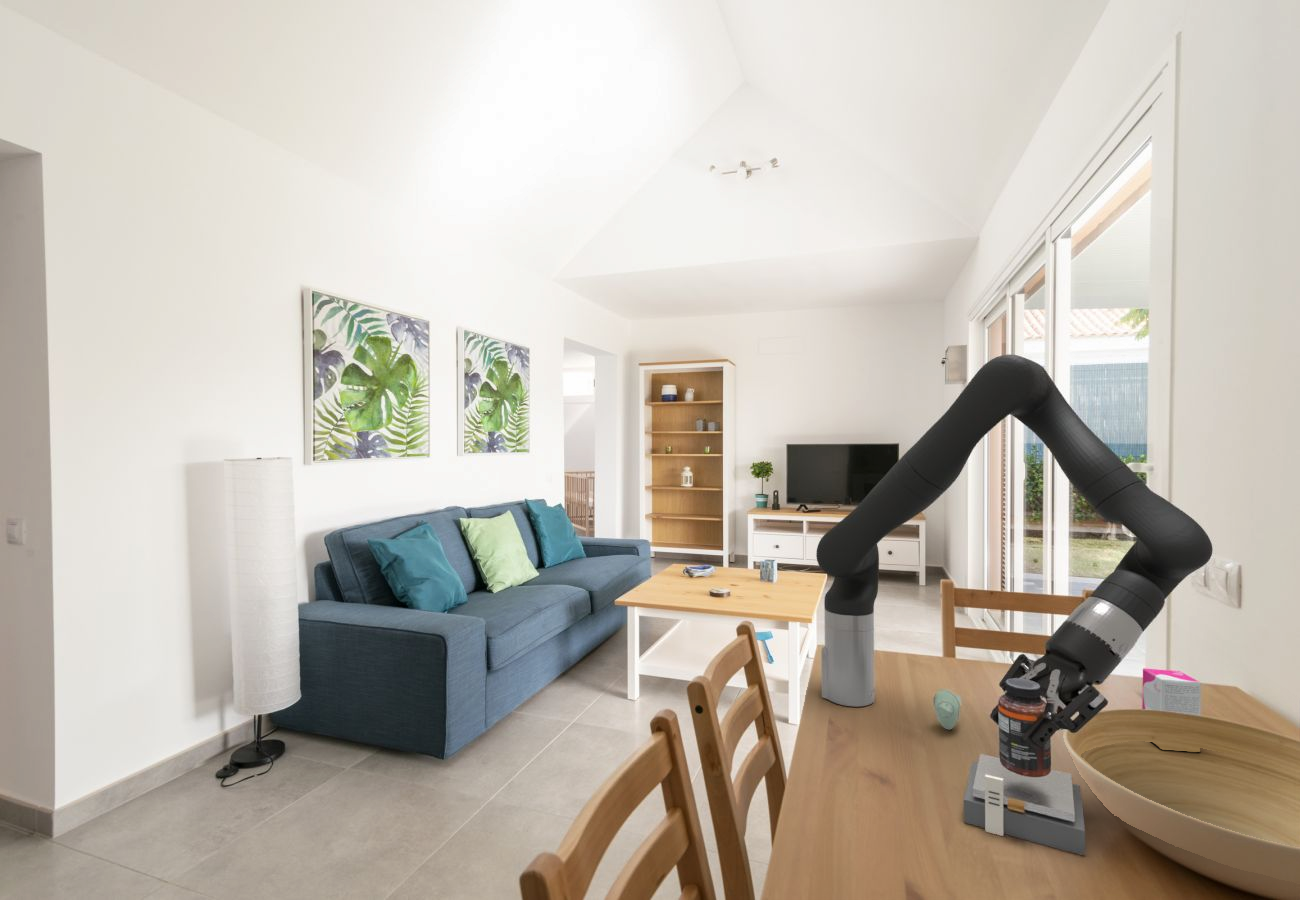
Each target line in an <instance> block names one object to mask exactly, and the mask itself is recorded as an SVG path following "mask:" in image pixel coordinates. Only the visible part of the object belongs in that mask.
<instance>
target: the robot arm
mask: <svg viewBox="0 0 1300 900" xmlns="http://www.w3.org/2000/svg"><path fill="white" fill-rule="evenodd" d="M1050 376H1051V375H1049V373H1048V371H1047V370H1046V369H1045V367H1043V366H1042V365H1041V364H1039V363H1037V362H1035V361H1033V360H1031V359H1029V358H1026V357H1023V356H1020V355H1017V354H1011V353H1010V354H1003V355H1002V354H1001V355H1000V356H999V355H997V356H995V357H994V358H992V359H989V361H987V362H986V363H985V364H983V365H982V366H981V368H980V369H979V370H977V372H976V373H975V374H974V376H973V377H972V378H971V380H970V381H969V382H968V384H967V385H966V386H965V388H964V389H962V391H961V393H960V394H959V395H958V397H957V398H956V399H955V400H954V401H953V403H952V404H951V405H950V407H949V408H948V409H947V410H946V411H945V412H944V414H942V416H941V417H940V418H938V420H937V421H936V422H935V423H934V424H933V425H932V426H931V427H930V428H929V429H928V430H926V432H925V433H924V434H923V435H922V436H921V437H920V438H919V439H918V440H917V441H916V442H915V443H914V445H912V446H911V447H910V448H909V449H908V450H907V451H906V452H904V454H903V455H902V456H901V458H900V459H898V460H897V462H896V463H894V465H892V467H891V468H890V469H889V470H888V472H887V473H886V474H885V475H884V476H883V477H881V478H882V479H880V480H879V481H878V482H877V484H876V485H875V486H874V487H873V488H872V489H871V490H870V491H869V493H867V495H866V496H864V499H862V501H861V502H860V503H859V504H858V505H857V506H856V507H855V508H854V509H853V510H852V511H851V512H849V514H847V515H846V516H845V517H844V518H843V519H841V520H840V521H839V522H838V523H837V524H835V525H834V526H833V527H832V528H831V529H829V530H828V531H827V532H826V533H825V534H824V535H823V536H822V537H821V538H820V540H819V542H818V545H817V548H816V554H815V556H816V561H817V565H818V566H819V568H820V570H821V571H822V572H824V573H825V574H826V575H827V576H831V577H833V581H832V583H831V586H830V588H829V589H828V591H827V592H826V593H825V594H824V595H825V596H824V601H823V602H824V606H823V607H824V647H822V648H821V652H820V653H821V657H820V658H821V668H820V669H821V673H820V674H821V698H822V699H826V700H828V701H830V702H831V703H834V704H837V705H842V706H846V707H856V708H857V707H867V706H870V705H871V704H873V703H874V702H875V636H874V635H875V633H874V631H875V625H874V624H875V623H874V622H875V615H874V613H875V608H874V607H875V602H876V598H877V596H878V593H879V577H880V576H879V575H880V572H879V571H880V553H879V552H880V551H879V547H878V543H880V541H881V540H883V539H884V538H885V537H886V536H887V535H888V534H890V533H891V532H892V531H894V530H896V529H897V528H899V527H901V526H902V525H903V524H906V523H907V522H908V521H910V520H912V519H913V518H915V517H916V516H917V515H920V514H921V513H922V512H923V511H925V510H927V508H929V507H930V506H931V505H932V504H933V503H935V502H936V501H937V500H938V499H939V498H940V497H941V496H942V495H943V494H944V493H945V492H946V491H947V490H948V489H949V488H950V487H951V486H952V485H953V484H954V483H955V481H956V480H957V479H958V477H959V476H960V474H961V472H962V471H963V469H964V467H965V466H966V463H967V462H968V460H969V457H970V456H971V454H972V452H973V450H974V449H975V447H976V446H977V444H978V443H979V442H980V441H981V440H982V439H983V438H984V437H985V436H986V435H987V434H988V433H989V432H990V431H991V430H992V429H994V428H995V427H996V426H997V425H998V424H1000V422H1001V421H1003V420H1004V419H1005V418H1007V417H1008V416H1009V415H1011V416H1013V418H1015V419H1016V420H1018V421H1020V422H1021V423H1022V424H1023V425H1024V426H1026V427H1027V428H1028V429H1029V430H1031V431H1032V433H1034V435H1036V436H1037V438H1039V440H1041V441H1042V443H1043V444H1044V445H1045V447H1046V448H1047V449H1048V450H1049V451H1050V453H1051V454H1052V456H1053V458H1054V460H1055V461H1056V462H1057V464H1058V466H1059V467H1060V470H1061V471H1062V472H1063V473H1064V475H1065V477H1066V478H1067V479H1068V481H1069V482H1070V483H1071V484H1072V486H1073V487H1074V488H1075V489H1076V491H1078V493H1079V494H1080V495H1081V496H1082V497H1083V498H1084V500H1086V502H1087V503H1088V504H1089V505H1090V506H1091V507H1092V508H1093V509H1094V510H1095V511H1096V513H1097V514H1099V515H1100V516H1101V518H1103V519H1104V520H1105V521H1106V522H1108V523H1110V524H1114V525H1117V524H1121V525H1122V526H1124V528H1125V529H1127V530H1128V531H1129V532H1130V533H1132V534H1133V535H1134V536H1135V537H1136V538H1137V540H1136V541H1135V542H1134V543H1133V544H1132V546H1131V547H1130V548H1129V549H1128V551H1127V552H1126V553H1125V554H1124V556H1123V557H1122V558H1121V560H1120V561H1119V563H1118V564H1117V565H1116V567H1115V569H1114V571H1113V572H1111V573H1110V574H1109V575H1107V576H1106V577H1105V578H1104V579H1103V581H1101V582H1100V584H1099V585H1098V586H1096V588H1095V589H1094V590H1093V592H1091V594H1089V597H1087V598H1086V599H1085V600H1084V601H1083V602H1082V603H1081V604H1079V605H1078V606H1077V607H1076V608H1075V609H1074V610H1073V611H1072V612H1071V614H1070V615H1068V616H1067V618H1066V619H1065V620H1064V621H1063V622H1062V623H1061V625H1060V626H1059V627H1058V628H1057V629H1056V631H1055V632H1054V633H1052V635H1051V636H1050V637H1049V638H1048V640H1046V642H1045V644H1044V647H1045V648H1044V649H1045V653H1044V654H1043V655H1042V656H1041V657H1039V658H1038V659H1036V660H1034V659H1031V658H1029V657H1028V656H1027V655H1026V654H1024V653H1020V654H1019V655H1018V656H1017V657H1016V659H1015V660H1014V662H1013V663H1012V664H1011V666H1010V667H1009V668H1008V670H1007V672H1006V673H1005V674H1004V676H1003V678H1002V679H1001V680H1000V682H999V684H998V685H999V687H1000V688H1001V689H1002V690H1003V693H1004V694H1006V692H1007V691H1006V680H1008V679H1012V678H1021V679H1027V680H1031V681H1034V682H1036V683H1038V684H1039V685H1040V693H1041V695H1040V698H1041V699H1042V700H1043V699H1045V702H1046V703H1047V704H1046V707H1045V710H1044V713H1043V716H1044V718H1043V717H1041V716H1039V718H1038V719H1037V720H1036V721H1035V722H1034V723H1033V724H1032V726H1031V727H1030V728H1029V729H1028V730H1027V731H1026V733H1025V734H1024V735H1023V740H1024V741H1025V742H1026V743H1027V744H1028V745H1029V746H1030V747H1032V748H1033V749H1035V750H1038V749H1039V748H1040V747H1042V746H1044V745H1045V744H1046V742H1047V741H1048V740H1049V739H1050V740H1051V738H1052V737H1053V736H1054V735H1055V733H1056V732H1057V731H1063V730H1067V731H1069V732H1070V733H1072V734H1076V733H1078V732H1079V731H1080V730H1081V729H1082V728H1083V727H1084V726H1085V725H1086V724H1088V723H1089V722H1090V721H1091V720H1092V719H1093V718H1094V717H1095V716H1097V715H1098V714H1099V713H1100V712H1101V711H1102V710H1103V709H1104V708H1105V707H1106V706H1107V705H1108V704H1109V700H1108V699H1107V698H1106V697H1105V696H1104V695H1103V693H1101V692H1100V691H1099V690H1098V689H1097V688H1096V687H1095V686H1094V685H1096V686H1100V685H1102V684H1103V683H1104V682H1105V681H1106V680H1107V679H1108V677H1109V676H1110V675H1111V674H1112V673H1113V671H1114V670H1116V668H1117V667H1118V666H1119V665H1120V663H1121V662H1122V661H1123V660H1124V658H1125V657H1126V656H1127V655H1128V654H1129V653H1130V651H1132V649H1133V648H1134V646H1135V645H1136V644H1137V642H1138V640H1139V638H1140V637H1141V636H1142V634H1143V633H1144V631H1145V630H1146V629H1147V628H1148V627H1149V626H1150V625H1151V624H1152V623H1153V621H1154V619H1156V618H1157V616H1158V615H1159V614H1160V613H1161V612H1162V609H1163V608H1164V606H1165V602H1166V601H1165V600H1166V599H1167V598H1168V596H1170V594H1171V593H1173V591H1174V590H1175V589H1176V587H1178V585H1180V583H1182V582H1183V581H1184V579H1186V578H1187V577H1188V576H1190V575H1191V574H1192V573H1194V572H1196V571H1197V570H1199V569H1201V568H1202V567H1204V566H1206V564H1207V563H1208V562H1209V561H1210V560H1211V558H1212V556H1213V544H1212V541H1211V539H1210V536H1209V534H1207V532H1206V531H1205V530H1204V528H1203V527H1202V526H1201V524H1199V522H1197V520H1195V519H1193V518H1192V517H1191V516H1189V514H1187V513H1186V512H1184V511H1183V510H1181V509H1180V508H1179V507H1177V506H1176V505H1175V504H1172V502H1170V501H1168V500H1167V499H1165V498H1164V497H1162V496H1161V495H1159V494H1157V493H1156V492H1154V491H1153V490H1151V489H1150V487H1149V486H1148V485H1146V483H1145V482H1144V481H1143V480H1142V479H1141V478H1140V477H1139V476H1138V475H1137V474H1136V473H1135V472H1134V470H1132V469H1131V468H1130V467H1129V466H1128V465H1127V464H1126V463H1125V462H1124V461H1123V460H1122V459H1121V458H1120V457H1119V455H1117V454H1116V453H1115V452H1114V451H1113V450H1112V449H1111V448H1110V447H1109V446H1107V445H1106V443H1104V441H1102V439H1100V438H1099V437H1098V435H1096V434H1095V433H1094V432H1093V431H1092V430H1091V428H1089V426H1088V425H1087V424H1086V423H1085V422H1084V421H1083V420H1082V419H1081V418H1080V416H1079V415H1078V414H1077V413H1076V412H1075V410H1074V409H1073V407H1072V406H1071V405H1070V404H1069V403H1068V401H1067V400H1066V398H1065V397H1064V396H1063V394H1062V393H1061V391H1060V390H1059V388H1058V387H1057V386H1056V384H1055V382H1054V380H1053V379H1052V377H1050ZM998 709H999V708H998V704H996V706H995V707H993V709H992V711H991V713H990V714H989V717H990V719H991V720H992V721H993V722H994V723H995V724H996V725H997V726H999V716H998ZM1077 713H1078V714H1077ZM1076 714H1077V716H1076V717H1074V716H1075V715H1076ZM1072 717H1074V718H1073V719H1072Z"/></svg>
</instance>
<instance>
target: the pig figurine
mask: <svg viewBox="0 0 1300 900" xmlns="http://www.w3.org/2000/svg"><path fill="white" fill-rule="evenodd" d="M961 702H962V696H960V695H957V694H955V693H954V692H952V691H951V690H950V689H945V688H943V689H939V690H938V691H937V692H936V693H935V694H934V696H933V708H934V712H935V715H936V717H937V720H938V721H939V723H940V726H942V727H943V728H944V729H946V730H951V729H952V730H953V728H954V727H955V726H956V725H957V723H958V721H959V719H960V713H961V711H960V710H961Z"/></svg>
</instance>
